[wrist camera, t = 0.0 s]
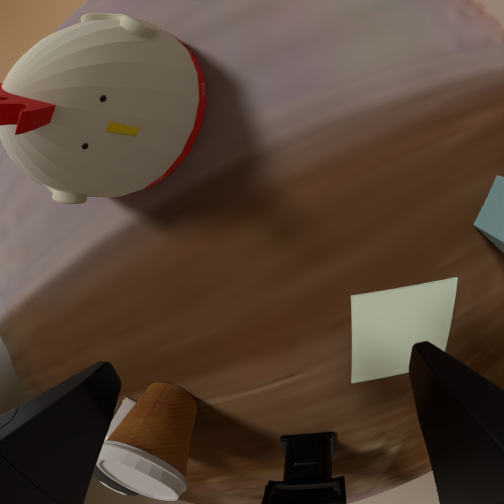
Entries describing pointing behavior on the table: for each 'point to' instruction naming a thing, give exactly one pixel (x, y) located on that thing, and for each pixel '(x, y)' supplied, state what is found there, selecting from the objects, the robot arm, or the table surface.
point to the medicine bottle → (116, 420)
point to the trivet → (398, 326)
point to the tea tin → (493, 215)
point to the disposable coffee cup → (152, 443)
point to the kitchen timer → (102, 108)
